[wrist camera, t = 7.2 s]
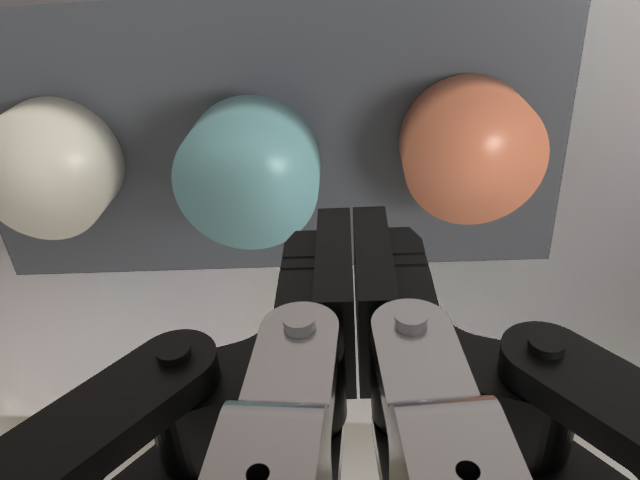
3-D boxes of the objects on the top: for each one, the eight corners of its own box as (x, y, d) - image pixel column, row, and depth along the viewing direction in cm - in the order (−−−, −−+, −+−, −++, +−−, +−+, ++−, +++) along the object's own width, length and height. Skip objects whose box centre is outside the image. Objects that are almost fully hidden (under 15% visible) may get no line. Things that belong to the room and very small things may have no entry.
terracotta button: (539, 69, 18) (559, 87, 16) (523, 195, 20) (539, 222, 19) (399, 76, 18) (404, 94, 17) (398, 200, 21) (402, 227, 19)
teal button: (316, 91, 18) (313, 111, 16) (325, 217, 20) (322, 247, 18) (176, 98, 18) (157, 118, 16) (199, 222, 20) (185, 251, 18)
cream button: (107, 92, 19) (83, 111, 17) (137, 210, 21) (118, 237, 19) (-20, 99, 19) (-56, 118, 18) (22, 215, 21) (-6, 242, 20)
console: (562, -40, 19) (595, -32, 17) (527, 221, 24) (548, 258, 22) (-33, -2, 21) (-87, 12, 18) (50, 237, 26) (16, 274, 23)
